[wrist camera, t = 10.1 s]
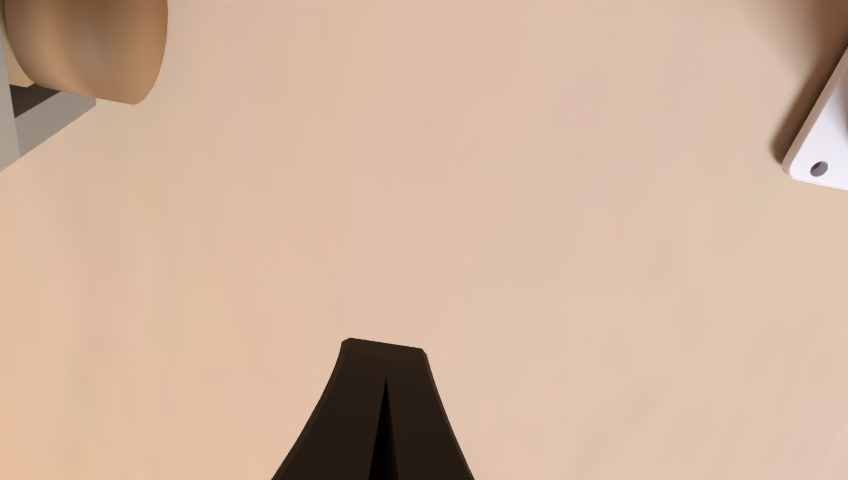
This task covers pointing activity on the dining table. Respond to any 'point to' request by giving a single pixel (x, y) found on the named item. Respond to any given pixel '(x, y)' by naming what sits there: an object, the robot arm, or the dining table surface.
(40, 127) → the box
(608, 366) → the dining table surface
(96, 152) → the dining table surface
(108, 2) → the walnut knob
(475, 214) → the dining table surface
